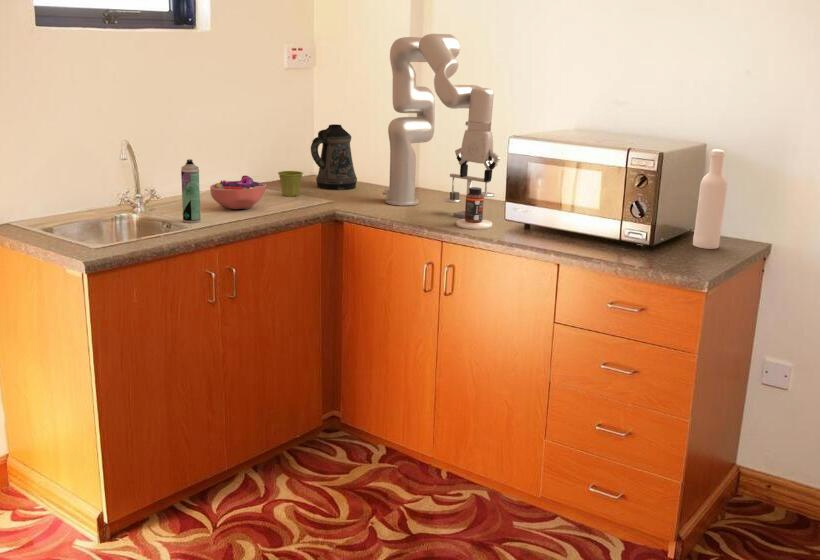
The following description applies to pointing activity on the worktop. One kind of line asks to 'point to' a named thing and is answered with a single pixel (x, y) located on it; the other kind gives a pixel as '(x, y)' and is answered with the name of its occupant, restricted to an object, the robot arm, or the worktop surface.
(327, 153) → the beer stein
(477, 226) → the dish
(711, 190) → the bottle
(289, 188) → the plant pot
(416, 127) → the robot arm
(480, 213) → the supplement bottle
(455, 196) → the balance
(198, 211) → the spray can
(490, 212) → the worktop surface
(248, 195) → the cell model
